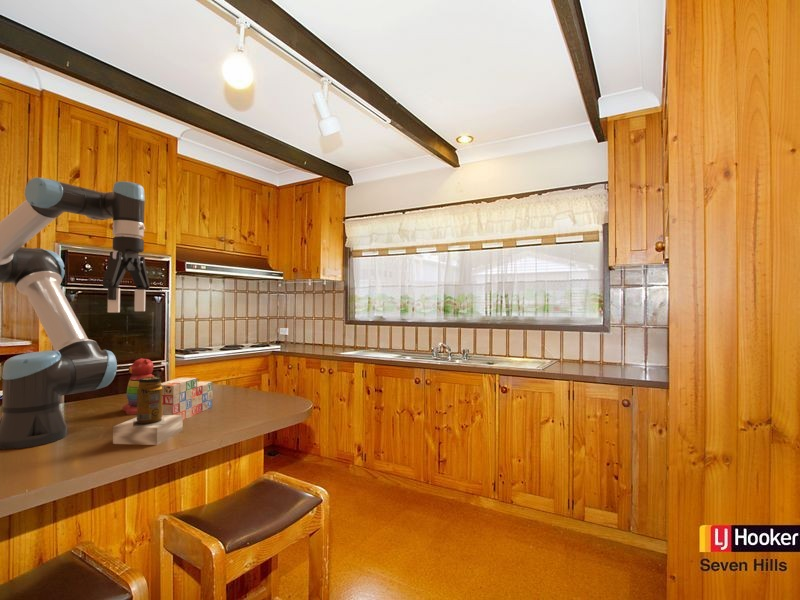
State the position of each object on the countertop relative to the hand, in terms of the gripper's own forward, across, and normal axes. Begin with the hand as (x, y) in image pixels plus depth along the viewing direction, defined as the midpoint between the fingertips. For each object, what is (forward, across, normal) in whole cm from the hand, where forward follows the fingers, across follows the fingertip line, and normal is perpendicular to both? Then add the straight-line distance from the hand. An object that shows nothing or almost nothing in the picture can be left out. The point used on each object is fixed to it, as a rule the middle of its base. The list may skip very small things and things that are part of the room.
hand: (127, 311), depth 120 cm
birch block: (+35, -4, -8) cm, 36 cm away
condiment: (+30, -5, -9) cm, 32 cm away
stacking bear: (+35, +27, +9) cm, 45 cm away
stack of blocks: (+35, +20, -9) cm, 41 cm away
